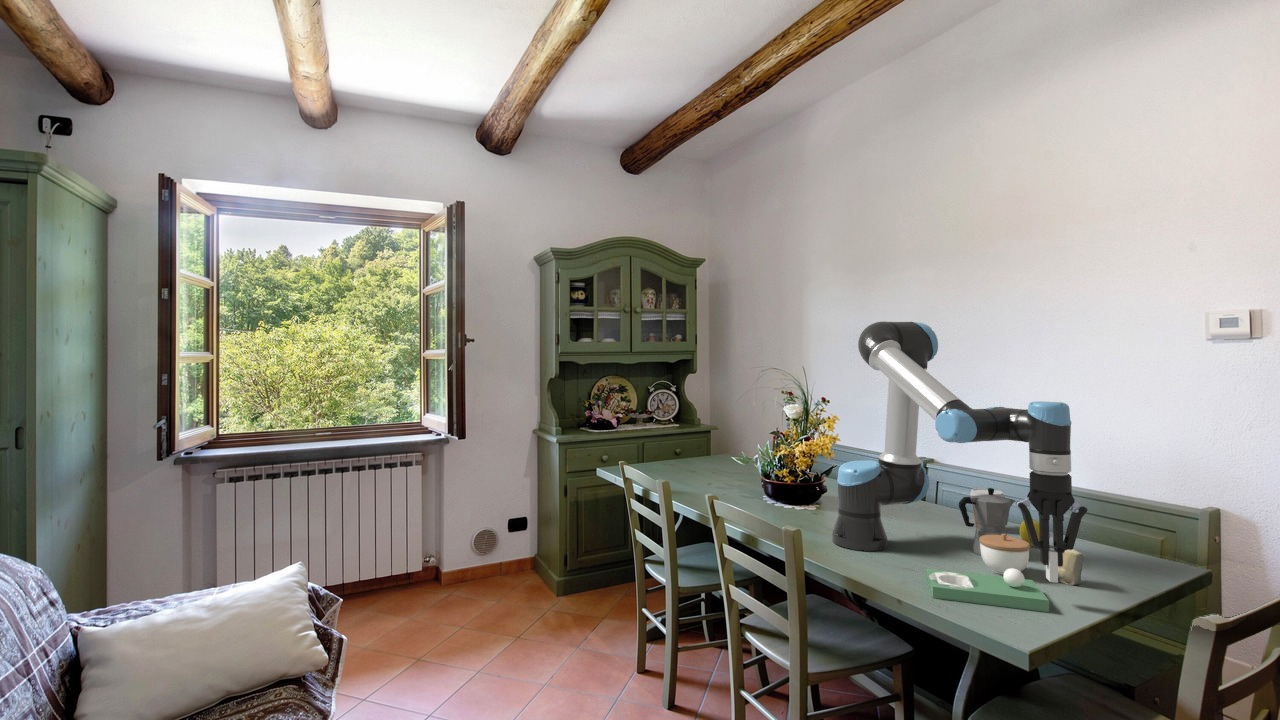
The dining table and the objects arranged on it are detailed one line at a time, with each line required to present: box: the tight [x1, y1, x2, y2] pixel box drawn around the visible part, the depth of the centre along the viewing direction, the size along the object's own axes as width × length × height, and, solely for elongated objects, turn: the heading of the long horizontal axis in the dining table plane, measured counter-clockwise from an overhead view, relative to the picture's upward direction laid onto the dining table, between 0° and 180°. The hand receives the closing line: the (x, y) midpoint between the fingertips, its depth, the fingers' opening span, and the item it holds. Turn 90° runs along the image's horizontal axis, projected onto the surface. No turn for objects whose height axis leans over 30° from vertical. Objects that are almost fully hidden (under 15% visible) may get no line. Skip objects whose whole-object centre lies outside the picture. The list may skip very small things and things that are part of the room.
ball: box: [1002, 568, 1026, 587], centre depth 128 cm, size 4×4×4 cm
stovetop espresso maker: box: [969, 487, 1006, 529], centre depth 181 cm, size 10×10×12 cm
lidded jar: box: [979, 534, 1031, 576], centre depth 144 cm, size 11×11×9 cm
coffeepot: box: [958, 487, 1017, 556], centre depth 158 cm, size 15×9×18 cm, turn 90°
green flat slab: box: [925, 568, 1050, 613], centre depth 130 cm, size 22×12×2 cm, turn 70°
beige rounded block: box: [1058, 548, 1085, 587], centre depth 137 cm, size 6×5×8 cm
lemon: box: [1018, 518, 1039, 547], centre depth 164 cm, size 6×6×8 cm
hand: (1052, 579), depth 126 cm, fingers closed
